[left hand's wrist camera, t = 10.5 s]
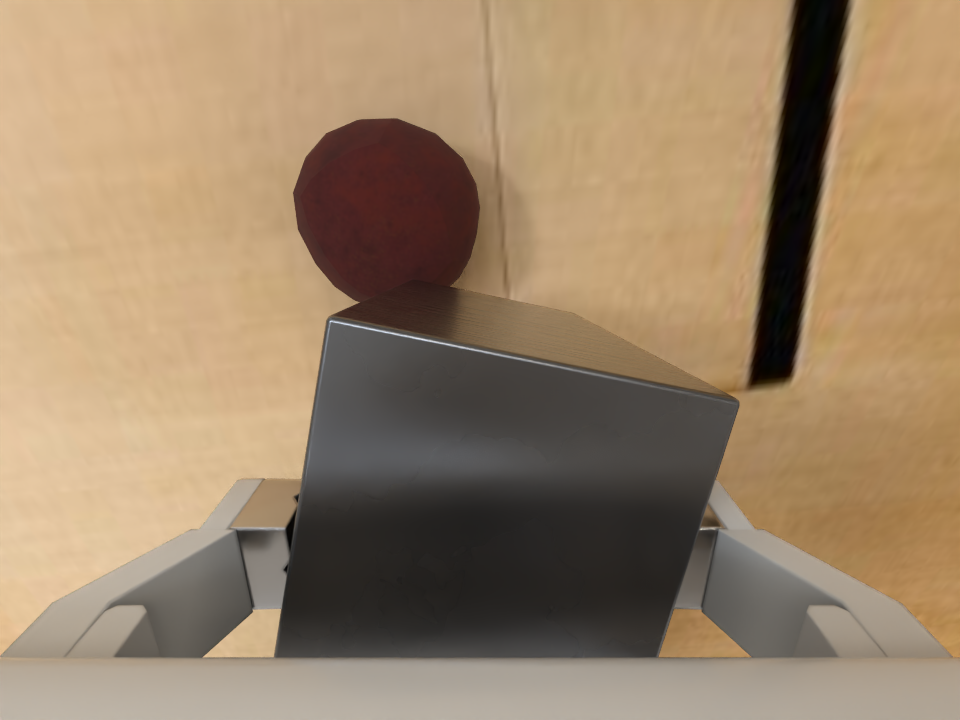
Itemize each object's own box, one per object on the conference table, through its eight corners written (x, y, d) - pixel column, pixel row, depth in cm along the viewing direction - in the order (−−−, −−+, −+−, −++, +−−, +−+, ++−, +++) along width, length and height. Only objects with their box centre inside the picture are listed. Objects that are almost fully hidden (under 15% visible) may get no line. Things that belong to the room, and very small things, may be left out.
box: (411, 278, 18) (325, 314, 7) (575, 313, 19) (744, 400, 7) (314, 803, 23) (165, 1345, 11) (448, 822, 23) (432, 1362, 12)
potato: (391, 313, 26) (362, 362, 20) (291, 182, 24) (220, 188, 18) (511, 232, 25) (522, 255, 18) (416, 84, 23) (391, 50, 16)
